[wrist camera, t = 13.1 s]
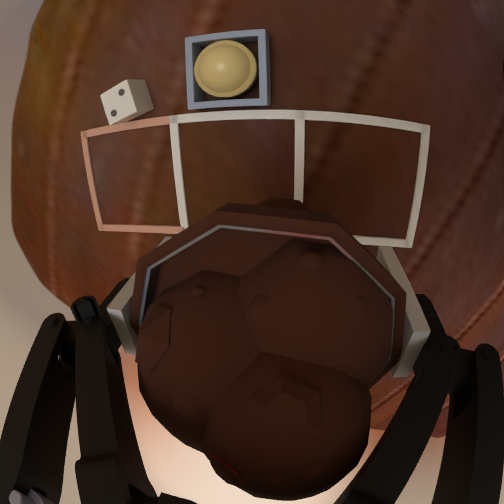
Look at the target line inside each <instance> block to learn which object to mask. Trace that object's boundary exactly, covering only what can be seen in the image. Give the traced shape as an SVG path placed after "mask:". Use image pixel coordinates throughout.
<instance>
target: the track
mask: <svg viewBox="0 0 504 504" xmlns="http://www.w3.org/2000/svg"><path fill="white" fill-rule="evenodd" d="M234 119H295V177H294V200H300V201H301V202H302V203H303V184H304V138H305V120H320V121H335V122H347V123H357V124H366V125H375V126H382V127H390V128H396V129H403V130H409V131H415V132H420V133H421V138H420V149H419V159H418V168H417V176H416V183H415V190H414V196H413V202H412V208H411V214H410V219H409V224H408V229H407V234H406V239H399V238H386V237H373V236H359V235H352V236H353V237H354V238H355V239H356V240H358V241H359V242H360V243H361V244H363V245H378V246H391V247H405V248H412V244H413V240H414V235H415V231H416V226H417V221H418V216H419V211H420V205H421V200H422V194H423V187H424V181H425V174H426V166H427V157H428V148H429V137H430V125H425V124H420V123H415V122H409V121H403V120H397V119H391V118H384V117H376V116H368V115H360V114H350V113H339V112H325V111H306V110H234V111H215V112H202V113H190V114H180V115H171V116H163V117H156V118H149V119H142V120H136V121H130V122H124V123H119V124H114V125H108V126H103V127H99V128H94V129H89V130H85V131H81V138H82V146H83V153H84V159H85V165H86V171H87V177H88V182H89V188H90V193H91V198H92V202H93V207H94V211H95V216H96V220H97V224H98V228H99V231H125V232H149V233H172V234H178V233H180V232H181V231H183V230H184V229H186V228H187V227H189V223H188V215H187V206H186V198H185V189H184V179H183V169H182V159H181V147H180V135H179V123H186V122H198V121H213V120H234ZM167 124H170V135H171V146H172V157H173V167H174V176H175V185H176V193H177V201H178V209H179V217H180V224H181V226H171V225H138V224H104V223H103V219H102V215H101V210H100V205H99V201H98V196H97V191H96V185H95V180H94V174H93V168H92V162H91V156H90V149H89V141H88V137H91V136H96V135H101V134H106V133H112V132H117V131H123V130H129V129H136V128H143V127H150V126H158V125H167Z"/></svg>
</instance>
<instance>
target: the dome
mask: <svg viewBox="0 0 504 504" xmlns="http://www.w3.org/2000/svg"><path fill="white" fill-rule="evenodd" d="M194 74H195V78H196V81H197V83H198V85H199V86H200V87H201V88H202V89H203V90H204V91H205V92H207V93H208V94H210V95H213V96H217V97H236V96H239V95H242V94H244V93H246V92H247V91H249V90H250V89H251V88H252V87H253V86H254V84H255V83H256V81H257V78H258V75H259V64H258V61H257V59H256V57H255V55H254V54H253V53H252V52H251V51H250V50H249V49H247V48H246V47H245V46H244V45H242V44H240V43H238V42H235V41H230V40H223V41H218V42H215V43H212V44H210V45H209V46H207V47H206V48H205V49H204V50H203V51H202V52H201V53H200V54H199V56H198V57H197V60H196V62H195V67H194Z"/></svg>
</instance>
